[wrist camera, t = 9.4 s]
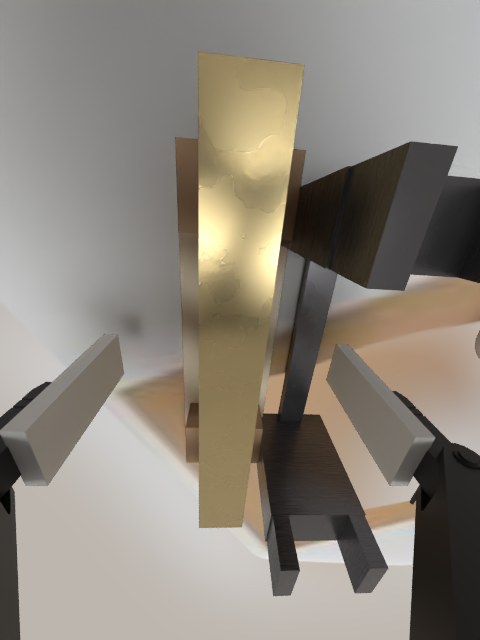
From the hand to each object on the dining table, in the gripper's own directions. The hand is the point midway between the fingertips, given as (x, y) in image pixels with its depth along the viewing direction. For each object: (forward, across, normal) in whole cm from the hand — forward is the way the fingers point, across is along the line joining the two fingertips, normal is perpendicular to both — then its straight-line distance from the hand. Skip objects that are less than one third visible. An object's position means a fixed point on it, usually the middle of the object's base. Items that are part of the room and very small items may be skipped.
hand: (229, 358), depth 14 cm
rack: (+4, +6, -1) cm, 7 cm away
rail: (+1, 0, 0) cm, 1 cm away
